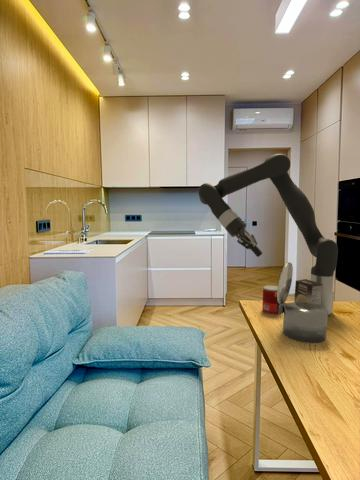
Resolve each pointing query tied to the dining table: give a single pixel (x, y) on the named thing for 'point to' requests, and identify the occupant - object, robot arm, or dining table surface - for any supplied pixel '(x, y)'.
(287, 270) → the lid
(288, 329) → the cooker pot
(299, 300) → the coffee box
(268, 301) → the canned food
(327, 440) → the dining table surface
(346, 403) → the dining table surface
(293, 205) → the robot arm
